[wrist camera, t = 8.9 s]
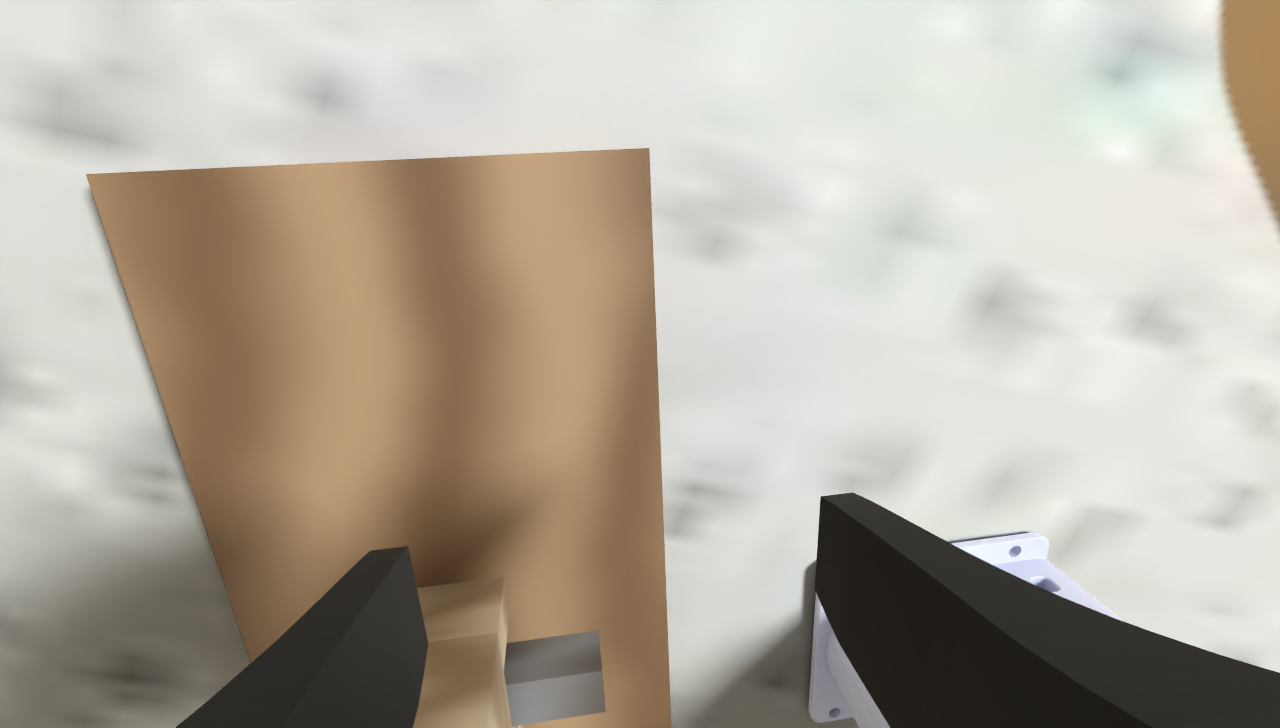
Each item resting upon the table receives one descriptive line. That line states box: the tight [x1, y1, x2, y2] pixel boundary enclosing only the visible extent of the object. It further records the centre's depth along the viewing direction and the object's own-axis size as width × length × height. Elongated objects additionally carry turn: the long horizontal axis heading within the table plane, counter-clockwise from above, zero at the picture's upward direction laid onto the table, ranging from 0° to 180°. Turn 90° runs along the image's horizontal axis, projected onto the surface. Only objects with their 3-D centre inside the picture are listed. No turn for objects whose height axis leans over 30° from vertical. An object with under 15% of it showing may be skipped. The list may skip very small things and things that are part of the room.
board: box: [86, 148, 671, 728], centre depth 19 cm, size 14×24×3 cm, turn 3°
